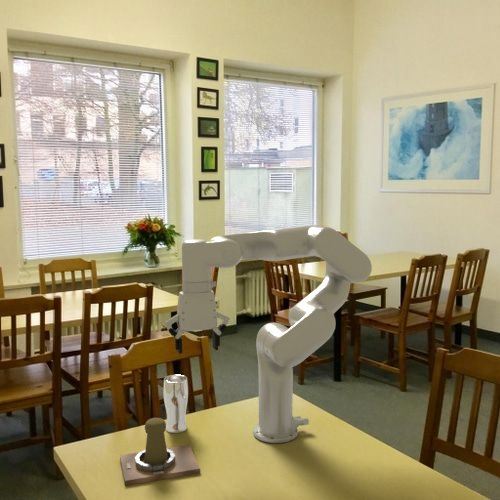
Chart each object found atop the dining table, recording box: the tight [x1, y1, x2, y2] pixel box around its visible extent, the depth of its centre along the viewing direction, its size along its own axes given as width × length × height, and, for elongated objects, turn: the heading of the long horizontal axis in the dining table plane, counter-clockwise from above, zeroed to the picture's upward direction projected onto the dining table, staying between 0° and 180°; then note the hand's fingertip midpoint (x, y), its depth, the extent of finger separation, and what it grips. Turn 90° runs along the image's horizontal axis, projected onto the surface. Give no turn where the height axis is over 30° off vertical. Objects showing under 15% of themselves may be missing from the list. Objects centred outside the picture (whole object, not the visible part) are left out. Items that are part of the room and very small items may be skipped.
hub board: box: [119, 444, 201, 486], centre depth 138 cm, size 18×13×1 cm
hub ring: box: [135, 449, 175, 472], centre depth 138 cm, size 10×10×2 cm
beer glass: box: [163, 374, 189, 434], centre depth 159 cm, size 7×7×15 cm
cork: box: [144, 417, 168, 464], centre depth 138 cm, size 6×6×11 cm
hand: (197, 350), depth 147 cm, fingers open, 9 cm apart
